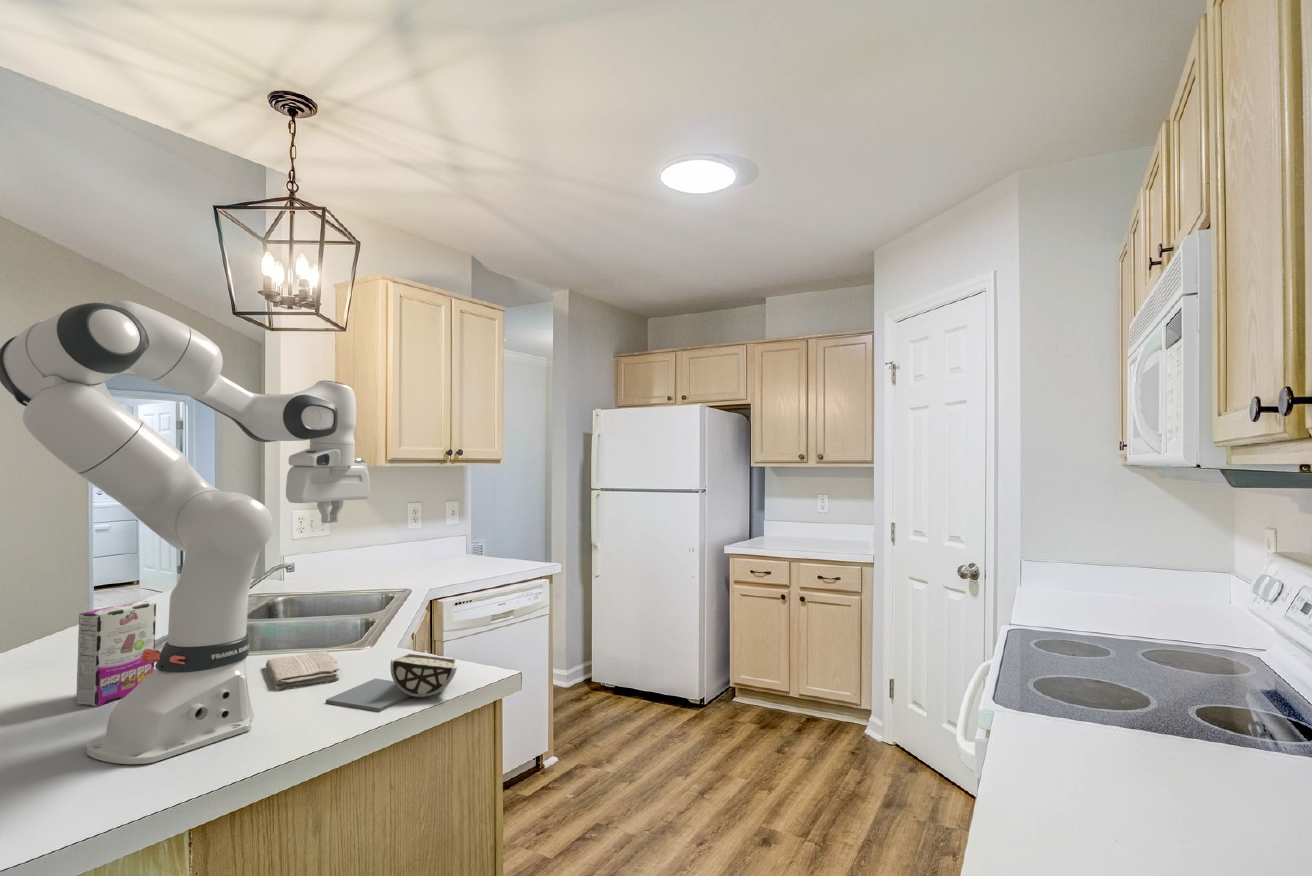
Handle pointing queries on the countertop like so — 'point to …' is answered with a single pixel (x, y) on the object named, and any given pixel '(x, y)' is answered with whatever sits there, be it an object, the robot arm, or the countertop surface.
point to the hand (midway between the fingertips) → (329, 522)
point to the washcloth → (303, 670)
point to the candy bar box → (114, 651)
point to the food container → (422, 674)
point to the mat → (370, 695)
